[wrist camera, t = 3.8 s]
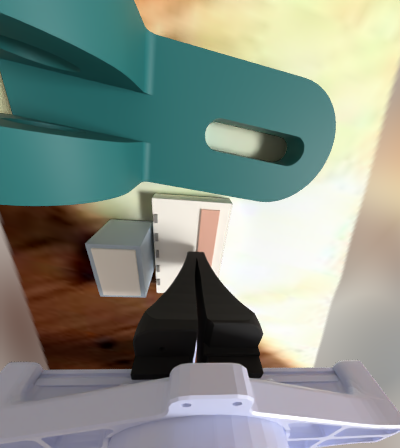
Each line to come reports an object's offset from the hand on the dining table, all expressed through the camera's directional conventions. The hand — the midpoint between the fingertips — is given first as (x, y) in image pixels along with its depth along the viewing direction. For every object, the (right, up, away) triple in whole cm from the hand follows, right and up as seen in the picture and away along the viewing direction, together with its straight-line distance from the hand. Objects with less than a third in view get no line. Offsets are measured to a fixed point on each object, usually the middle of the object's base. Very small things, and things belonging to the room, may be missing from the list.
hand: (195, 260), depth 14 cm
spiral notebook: (-1, +1, +2) cm, 2 cm away
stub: (-6, +1, +1) cm, 6 cm away
